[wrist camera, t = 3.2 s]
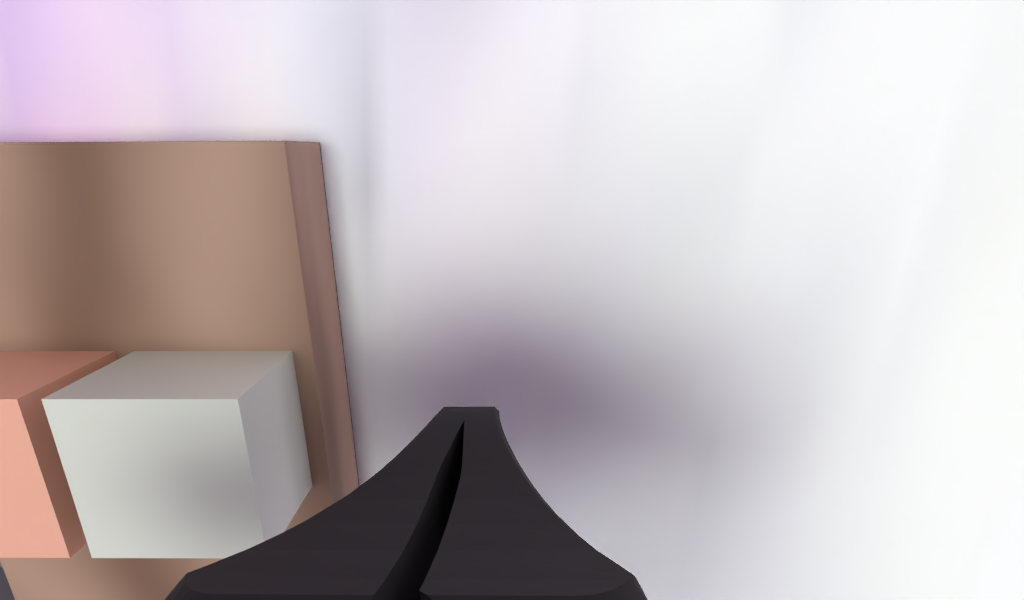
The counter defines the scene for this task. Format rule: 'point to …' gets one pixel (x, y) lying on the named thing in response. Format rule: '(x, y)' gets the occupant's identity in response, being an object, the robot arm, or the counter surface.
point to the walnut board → (174, 294)
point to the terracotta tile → (37, 454)
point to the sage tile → (183, 452)
